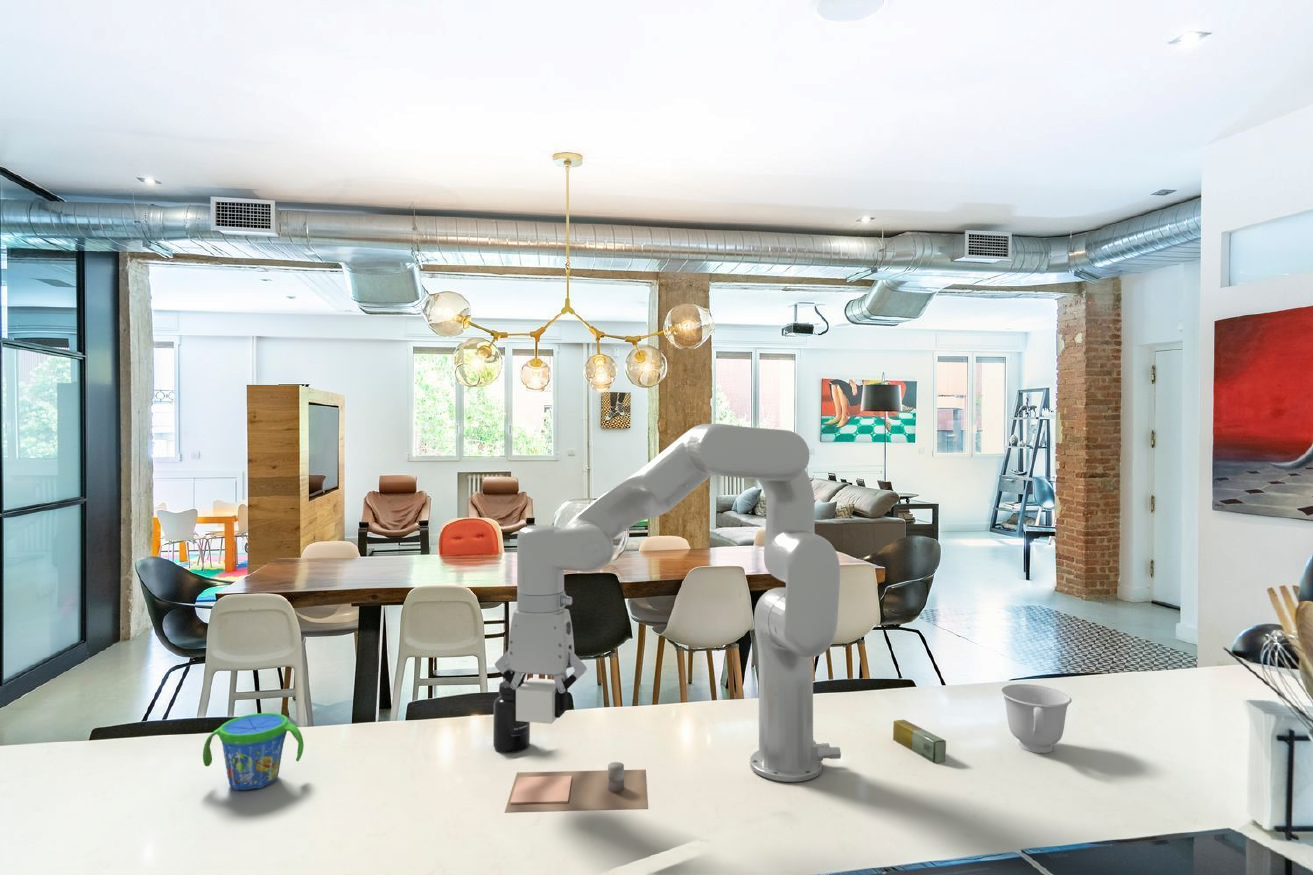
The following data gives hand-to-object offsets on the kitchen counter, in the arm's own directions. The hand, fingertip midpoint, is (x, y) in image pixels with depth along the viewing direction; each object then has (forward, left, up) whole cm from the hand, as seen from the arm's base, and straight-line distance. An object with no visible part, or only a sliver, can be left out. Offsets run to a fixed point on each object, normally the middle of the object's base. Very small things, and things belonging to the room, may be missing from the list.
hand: (540, 712), depth 127 cm
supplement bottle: (+8, -22, -15) cm, 28 cm away
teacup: (-90, -15, -14) cm, 93 cm away
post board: (-6, 0, -14) cm, 16 cm away
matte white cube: (0, 0, -1) cm, 1 cm away
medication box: (-68, -16, -15) cm, 72 cm away
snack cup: (+50, -9, -15) cm, 53 cm away
